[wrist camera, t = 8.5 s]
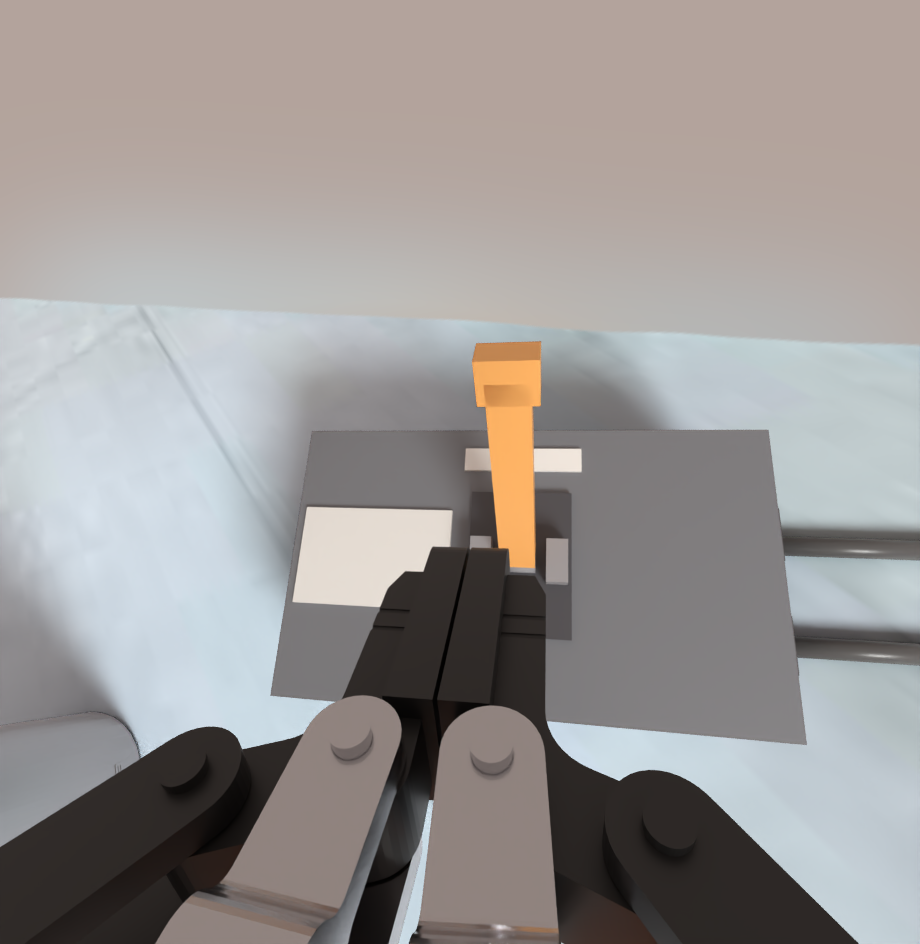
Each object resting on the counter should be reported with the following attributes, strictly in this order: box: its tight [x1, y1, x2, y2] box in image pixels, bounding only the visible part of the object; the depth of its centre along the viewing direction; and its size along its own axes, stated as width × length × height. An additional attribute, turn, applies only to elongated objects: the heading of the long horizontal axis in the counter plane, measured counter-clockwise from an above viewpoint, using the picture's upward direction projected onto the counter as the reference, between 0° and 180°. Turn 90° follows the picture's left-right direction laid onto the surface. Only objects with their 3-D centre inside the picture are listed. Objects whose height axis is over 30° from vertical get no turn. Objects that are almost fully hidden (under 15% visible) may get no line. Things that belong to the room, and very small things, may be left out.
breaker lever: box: [472, 341, 541, 573], centre depth 21 cm, size 2×1×12 cm
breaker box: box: [270, 430, 920, 745], centre depth 28 cm, size 39×14×11 cm, turn 87°
